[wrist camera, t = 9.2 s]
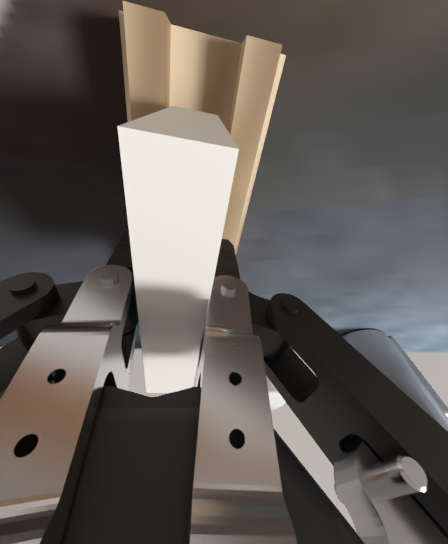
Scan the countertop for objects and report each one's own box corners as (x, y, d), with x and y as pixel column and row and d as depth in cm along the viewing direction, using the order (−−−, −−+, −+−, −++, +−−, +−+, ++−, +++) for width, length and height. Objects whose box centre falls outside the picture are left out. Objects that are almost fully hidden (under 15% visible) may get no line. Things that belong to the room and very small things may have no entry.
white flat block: (217, 115, 10) (238, 148, 4) (196, 278, 16) (191, 392, 10) (169, 105, 10) (107, 124, 3) (167, 275, 16) (143, 392, 10)
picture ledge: (278, 59, 12) (297, 49, 10) (226, 276, 22) (229, 300, 19) (128, 19, 11) (103, -5, 8) (144, 268, 21) (135, 293, 18)
